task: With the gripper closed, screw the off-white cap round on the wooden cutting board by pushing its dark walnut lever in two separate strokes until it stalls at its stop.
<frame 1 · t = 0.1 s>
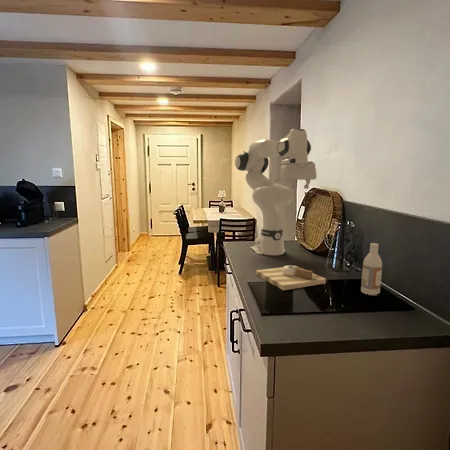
hand: (298, 188, 166), 39 cm above the table, tool pointing down, fingers open, 8 cm apart
cap: (297, 271, 144), point 4 cm above the table, hinge at 0.0°
wooden cutting board: (289, 278, 147), on the table
bath foam: (370, 293, 131), on the table
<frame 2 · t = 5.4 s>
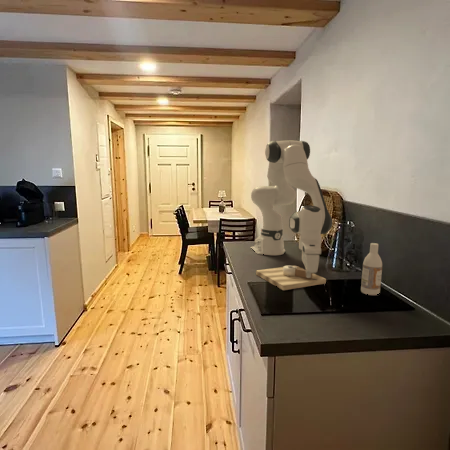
hand: (308, 276, 139), 3 cm above the table, tool pointing down, fingers closed
cap: (297, 271, 144), point 4 cm above the table, hinge at 0.3°, touching gripper
everything else where it was.
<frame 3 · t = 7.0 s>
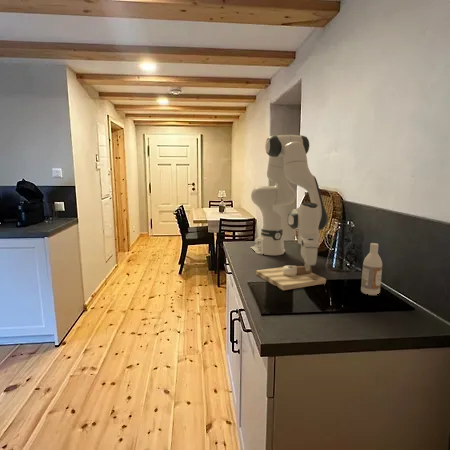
hand: (307, 270, 146), 4 cm above the table, tool pointing down, fingers closed
cap: (297, 269, 147), point 4 cm above the table, hinge at 48.8°, touching gripper
everything else where it was.
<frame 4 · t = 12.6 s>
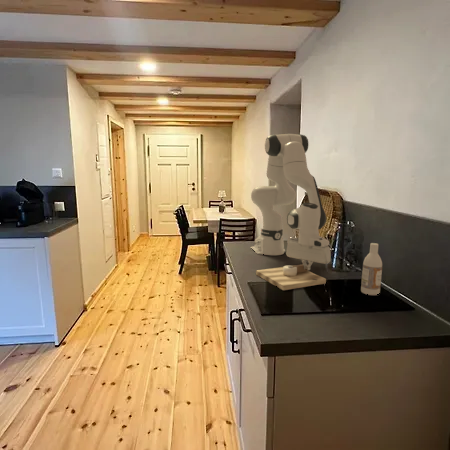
hand: (306, 269, 149), 4 cm above the table, tool pointing down, fingers closed
cap: (295, 268, 148), point 4 cm above the table, hinge at 68.0°, touching gripper
everything else where it was.
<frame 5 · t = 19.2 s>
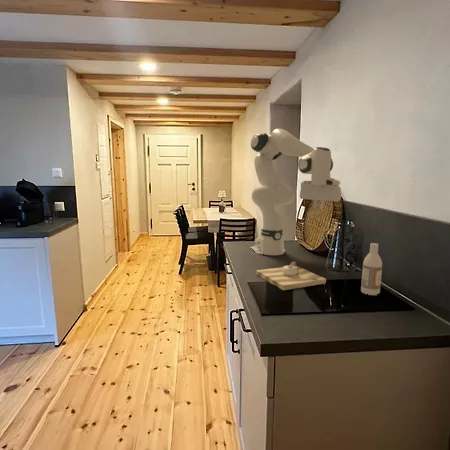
hand: (318, 209, 162), 29 cm above the table, tool pointing down, fingers closed
cap: (291, 267, 149), point 4 cm above the table, hinge at 104.0°
everything else where it was.
at the end: cap at +104° (first picture: +0°); the gripper is holding nothing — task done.
